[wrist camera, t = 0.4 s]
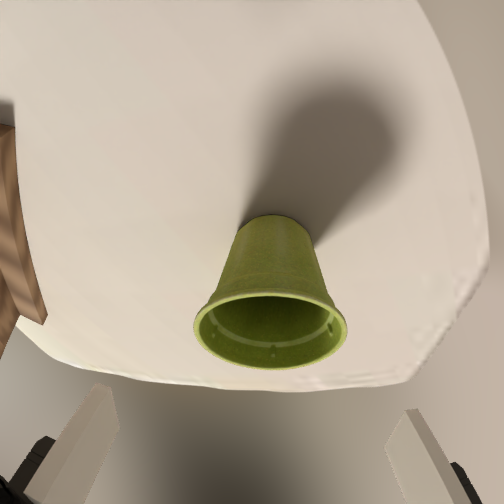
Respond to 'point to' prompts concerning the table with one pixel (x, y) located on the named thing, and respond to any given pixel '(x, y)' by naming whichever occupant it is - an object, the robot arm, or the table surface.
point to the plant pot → (271, 301)
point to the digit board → (14, 249)
